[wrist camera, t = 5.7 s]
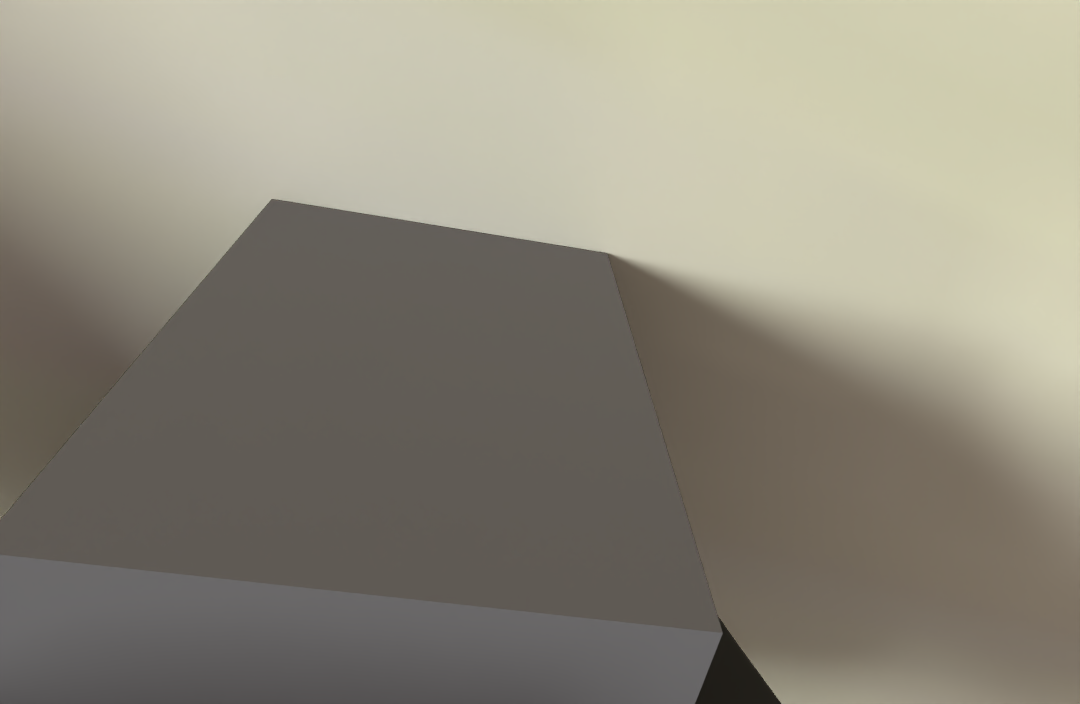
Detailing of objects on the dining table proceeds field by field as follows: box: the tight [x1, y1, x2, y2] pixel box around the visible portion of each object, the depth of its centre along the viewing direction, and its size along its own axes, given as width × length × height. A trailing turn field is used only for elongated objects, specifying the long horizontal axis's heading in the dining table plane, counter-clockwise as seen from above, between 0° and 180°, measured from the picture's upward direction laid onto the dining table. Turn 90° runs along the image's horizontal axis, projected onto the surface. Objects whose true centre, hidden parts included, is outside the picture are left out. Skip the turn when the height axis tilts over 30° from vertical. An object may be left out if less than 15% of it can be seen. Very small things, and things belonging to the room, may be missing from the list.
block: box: [0, 199, 723, 704], centre depth 8 cm, size 6×4×6 cm, turn 170°
